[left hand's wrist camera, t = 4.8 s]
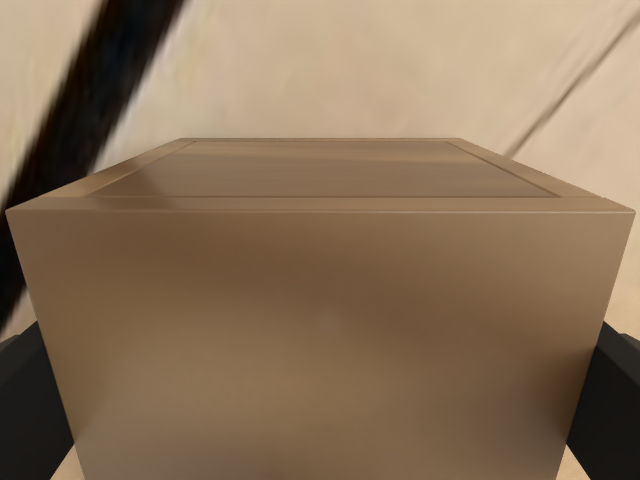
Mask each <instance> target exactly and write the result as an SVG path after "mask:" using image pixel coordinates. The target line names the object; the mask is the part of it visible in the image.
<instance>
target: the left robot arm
mask: <svg viewBox="0 0 640 480" xmlns="http://www.w3.org/2000/svg"><path fill="white" fill-rule="evenodd" d="M566 444H567V446H568V447H569V449H570V450H571V452H572V453H573V454H574V456H575V457H576V459H577V460H578V462H579V463H580V465H581V466H582V468H583V469H584V471H585V472H586V474H587V475H588V477H589V478H590V480H640V341H639V340H637V339H635V338H633V337H631V336H629V335H627V334H619V333H618V332H617V331H615V330H614V329H613V328H612V327H611V326H609V325H608V324H607V323H606V322H605V321H604V320H603V323H602V327H601V330H600V333H599V337H598V340H597V343H596V347H595V350H594V353H593V357H592V360H591V363H590V367H589V370H588V373H587V377H586V380H585V383H584V387H583V390H582V393H581V397H580V400H579V403H578V407H577V410H576V413H575V417H574V420H573V423H572V427H571V430H570V433H569V437H568V440H567V443H566ZM73 445H74V441H73V438H72V434H71V431H70V428H69V424H68V421H67V418H66V414H65V411H64V408H63V404H62V401H61V397H60V394H59V391H58V387H57V384H56V381H55V377H54V374H53V371H52V367H51V364H50V361H49V357H48V354H47V351H46V347H45V344H44V341H43V337H42V334H41V331H40V327H39V324H38V321H36V322H35V323H33V324H32V325H31V326H30V327H29V328H27V329H26V330H25V331H24V332H23V333H22V334H20V335H14V336H12V337H11V338H9V339H7V340H5V341H3V342H1V343H0V480H50V479H51V477H52V476H53V474H54V473H55V471H56V470H57V468H58V467H59V465H60V464H61V462H62V461H63V460H64V458H65V457H66V455H67V454H68V452H69V451H70V449H71V448H72V446H73Z"/></svg>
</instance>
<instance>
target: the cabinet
mask: <svg viewBox="0 0 640 480" xmlns="http://www.w3.org/2000/svg"><path fill="white" fill-rule="evenodd" d="M5 214H6V217H7V220H8V224H9V227H10V230H11V234H12V237H13V240H14V244H15V247H16V251H17V254H18V257H19V261H20V264H21V267H22V271H23V274H24V277H25V281H26V284H27V287H28V291H29V294H30V297H31V301H32V304H33V307H34V311H35V314H36V317H37V321H38V324H39V327H40V331H41V334H42V337H43V341H44V344H45V347H46V351H47V354H48V357H49V361H50V364H51V367H52V371H53V374H54V377H55V381H56V384H57V387H58V391H59V394H60V397H61V401H62V404H63V408H64V411H65V414H66V418H67V421H68V424H69V428H70V431H71V434H72V438H73V441H74V444H75V448H76V451H77V454H78V458H79V461H80V464H81V468H82V471H83V474H84V478H85V480H556V477H557V473H558V470H559V467H560V463H561V460H562V457H563V453H564V450H565V447H566V443H567V440H568V437H569V433H570V430H571V427H572V423H573V420H574V417H575V413H576V410H577V407H578V403H579V400H580V397H581V393H582V390H583V387H584V383H585V380H586V377H587V373H588V370H589V367H590V363H591V360H592V357H593V353H594V350H595V347H596V343H597V340H598V337H599V333H600V330H601V327H602V323H603V320H604V317H605V313H606V310H607V307H608V303H609V300H610V297H611V293H612V290H613V287H614V283H615V280H616V277H617V273H618V270H619V267H620V264H621V260H622V257H623V254H624V250H625V247H626V244H627V240H628V237H629V234H630V230H631V227H632V224H633V220H634V217H635V214H636V212H635V210H633V209H631V208H628V207H626V206H623V205H621V204H618V203H616V202H614V201H611V200H609V199H606V198H602V197H600V196H598V195H595V194H593V193H591V192H588V191H586V190H583V189H581V188H579V187H576V186H574V185H571V184H569V183H566V182H564V181H562V180H559V179H557V178H554V177H552V176H550V175H547V174H545V173H542V172H540V171H537V170H535V169H533V168H530V167H528V166H525V165H523V164H521V163H518V162H516V161H513V160H511V159H508V158H506V157H504V156H501V155H499V154H496V153H494V152H492V151H489V150H487V149H484V148H482V147H480V146H477V145H475V144H472V143H470V142H468V141H465V140H463V139H461V138H180V139H178V140H175V141H172V142H170V143H168V144H165V145H163V146H160V147H158V148H155V149H153V150H151V151H148V152H146V153H143V154H141V155H138V156H136V157H134V158H131V159H129V160H126V161H124V162H121V163H119V164H117V165H114V166H112V167H109V168H107V169H104V170H102V171H100V172H97V173H95V174H92V175H90V176H87V177H85V178H83V179H80V180H78V181H75V182H73V183H70V184H68V185H66V186H63V187H61V188H58V189H56V190H53V191H51V192H49V193H46V194H44V195H41V196H39V197H38V198H34V199H32V200H29V201H27V202H24V203H22V204H20V205H17V206H15V207H12V208H10V209H8V210H6V211H5Z"/></svg>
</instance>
